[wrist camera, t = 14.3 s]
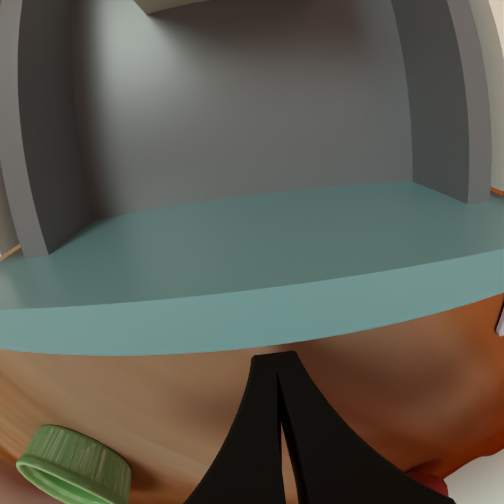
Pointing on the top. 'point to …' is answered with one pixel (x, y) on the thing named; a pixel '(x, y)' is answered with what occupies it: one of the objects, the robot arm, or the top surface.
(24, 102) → the tray
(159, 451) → the top surface
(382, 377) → the top surface
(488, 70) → the housing
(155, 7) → the block
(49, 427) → the ramekin
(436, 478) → the onion
